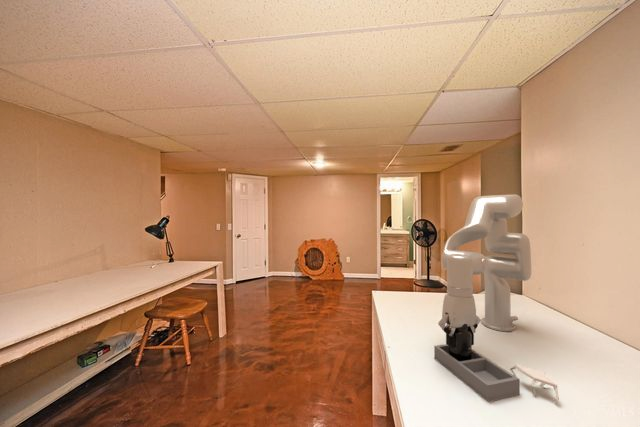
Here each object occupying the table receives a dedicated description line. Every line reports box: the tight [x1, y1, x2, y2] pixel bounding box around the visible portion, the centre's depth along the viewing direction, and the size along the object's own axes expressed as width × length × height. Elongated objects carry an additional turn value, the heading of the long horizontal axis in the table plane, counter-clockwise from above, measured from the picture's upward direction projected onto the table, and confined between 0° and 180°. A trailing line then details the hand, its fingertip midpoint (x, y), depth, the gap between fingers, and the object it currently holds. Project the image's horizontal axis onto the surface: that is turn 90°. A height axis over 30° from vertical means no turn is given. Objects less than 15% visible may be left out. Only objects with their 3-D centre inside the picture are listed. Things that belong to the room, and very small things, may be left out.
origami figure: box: [509, 363, 560, 405], centre depth 73 cm, size 12×8×5 cm
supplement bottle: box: [448, 324, 473, 361], centre depth 84 cm, size 7×7×12 cm
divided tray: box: [434, 343, 521, 403], centre depth 79 cm, size 11×21×4 cm, turn 14°
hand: (459, 344), depth 84 cm, fingers closed on supplement bottle, 6 cm apart
